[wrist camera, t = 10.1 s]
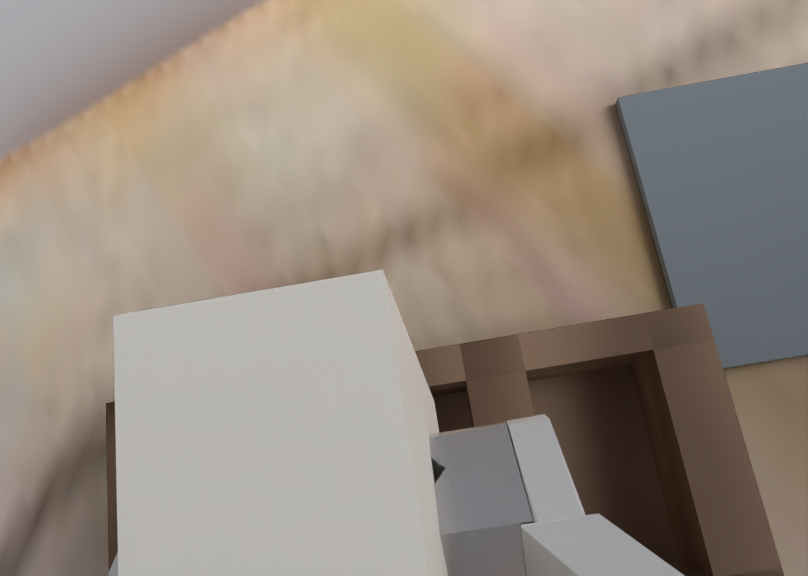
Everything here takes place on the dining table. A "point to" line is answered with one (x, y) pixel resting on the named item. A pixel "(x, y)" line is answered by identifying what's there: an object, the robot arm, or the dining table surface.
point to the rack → (614, 430)
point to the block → (275, 436)
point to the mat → (730, 204)
